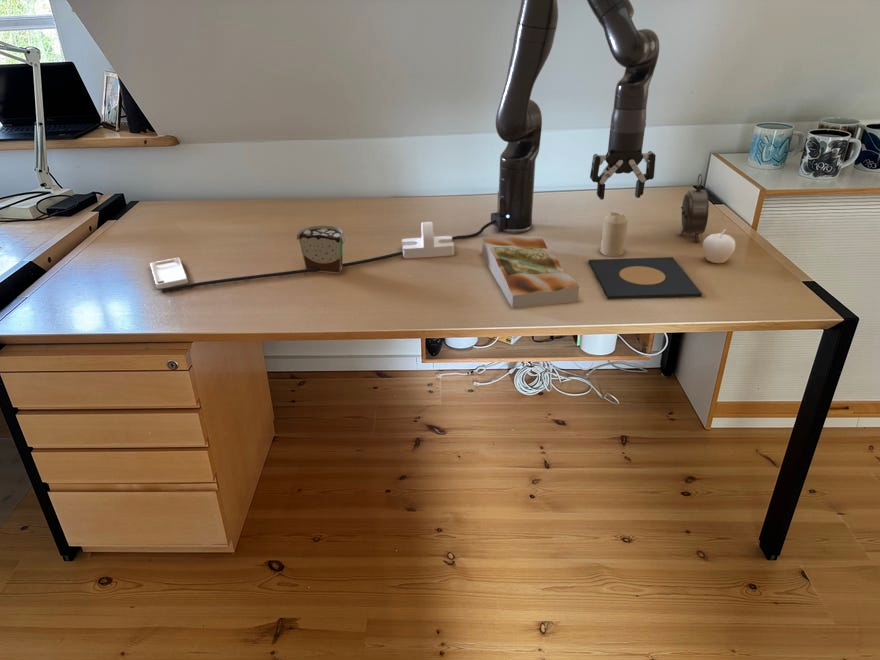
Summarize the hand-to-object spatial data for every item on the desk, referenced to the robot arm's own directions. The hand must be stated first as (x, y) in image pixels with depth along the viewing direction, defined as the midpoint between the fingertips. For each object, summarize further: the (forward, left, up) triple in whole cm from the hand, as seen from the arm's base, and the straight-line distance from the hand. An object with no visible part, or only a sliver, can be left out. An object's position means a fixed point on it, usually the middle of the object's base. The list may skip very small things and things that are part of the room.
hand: (619, 197), depth 160 cm
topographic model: (-23, -13, -14) cm, 30 cm away
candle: (0, 0, -14) cm, 14 cm away
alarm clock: (+22, +9, -14) cm, 28 cm away
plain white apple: (+23, -7, -14) cm, 28 cm away
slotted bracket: (-46, +4, -14) cm, 48 cm away
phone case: (-111, -6, -14) cm, 112 cm away
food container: (-71, -4, -14) cm, 73 cm away
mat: (+3, -16, -14) cm, 21 cm away
